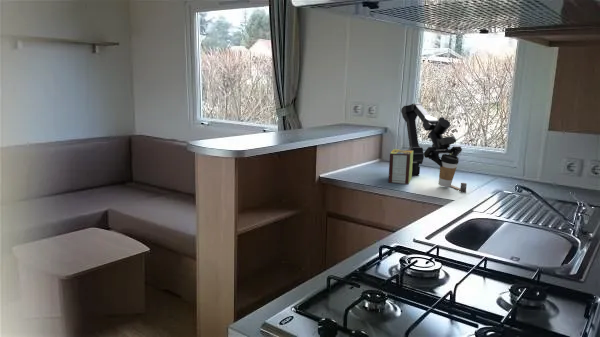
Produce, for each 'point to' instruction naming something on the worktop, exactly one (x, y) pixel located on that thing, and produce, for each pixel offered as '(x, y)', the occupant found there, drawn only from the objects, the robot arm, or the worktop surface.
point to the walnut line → (463, 187)
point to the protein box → (400, 166)
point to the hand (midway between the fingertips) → (449, 165)
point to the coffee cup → (447, 169)
